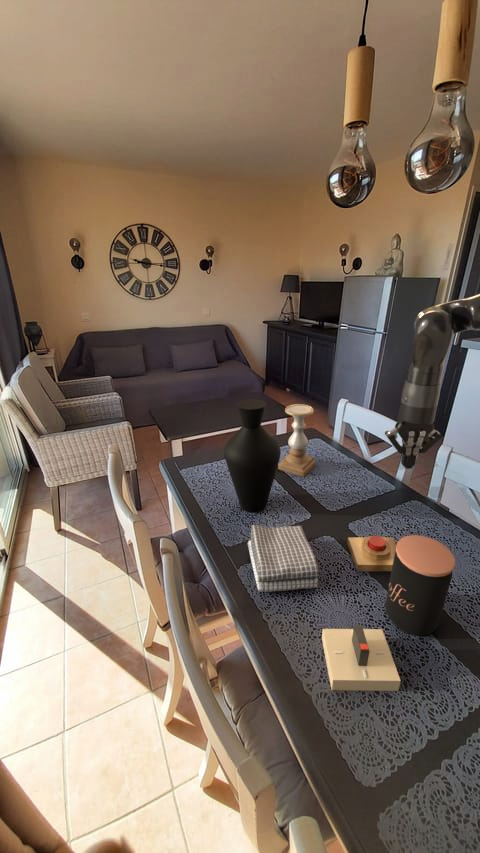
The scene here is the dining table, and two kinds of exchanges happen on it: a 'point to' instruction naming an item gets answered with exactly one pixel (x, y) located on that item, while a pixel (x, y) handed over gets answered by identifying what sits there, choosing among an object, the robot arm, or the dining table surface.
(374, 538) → the button
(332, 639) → the panel
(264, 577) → the towel
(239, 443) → the vase
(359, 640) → the dark grey block
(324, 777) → the dining table surface
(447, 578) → the coffee jar
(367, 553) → the switch block
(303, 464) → the candle holder
